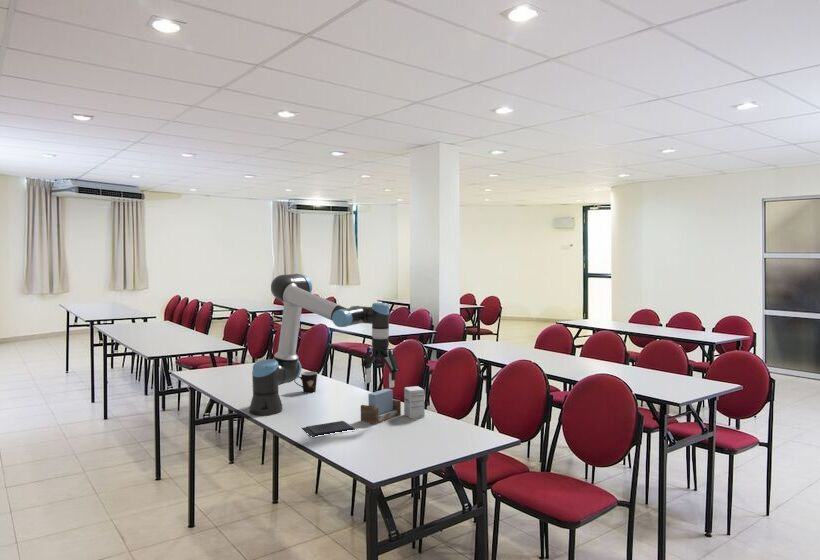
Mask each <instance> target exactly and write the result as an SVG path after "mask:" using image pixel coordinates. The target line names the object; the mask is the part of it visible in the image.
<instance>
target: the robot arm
mask: <svg viewBox="0 0 820 560" xmlns="http://www.w3.org/2000/svg"><path fill="white" fill-rule="evenodd" d="M270 291H271V295H272V296H274V298H276V300H278V301H281V302H282V303H283V310H282V318H281V326H280V332H279V333H280V334H279V340H278V349H277V352H275V353H274V355H273V358H271V359H270V358H269V359H262V360H259V361H255V363H253V365H252V372H251V374H252V397H251V401H250V405H249V407H248V409H249V410H248V411H249V414H251V415H254V416H270V415H275V414H279V413H281V412H282V411H283V403H282V400H281V398H280V395H279V386H280V385H284V384H288V383H292V382H293V381H294V380H295V381H296V380H297V379H298V378H299V377H300V375H301V373H302V364H301V362H300V360H299V355H298V354H297V346H298V340H299V338H298V337H299V333H300V332H299V331H300V323H301V316H302V309H305V310H307V311H309V312H312V313H314V314H316V315H318V316H319V317H323V318H326V319H327V320H329V321H331V322H332V323H333V324H334V326H336V327H338V328H347V327H350V326H354V325H358V324H370V325H371V337H372V338H371V346H368V347H366V353H365V355H364V358H363V360H362V363H361V367H363V368H364V369H365V370H364V371H365V372H364V375H365V383H366V384H369V383H372V367H371V366H372V365H373V363H374V362H375V361H376V359H380V360H382V361H383V362H384V363H385V364H386V366H387V368H388V370H389V375H388V385H389V386H388V389H391V388H395V380H396V379H397V378H396V376H397V374H396V373H397V372H400V368H399V364H398V361H397V358H396V356H395V350H394V349H389V346H390V345H389V343H390V339H389V337H390V334H389V333H390V328H389V327H390V307H389V304H388V303H387V302H373V303H371V304H372V305H371V306H362V305H361V306H360V305H351V306H350V307H349V308H347V307H346V306H342V305H340V304H337V303H335V302H333V301H331V300H328V299H326V298H324V297H321V296H320V295H317V294H314V293H312V292H313V284H312V282H311V280H310V278H309V277H308V276H306V275H305V274H301V273H292V274H291V273H290V274H280V275H277V276H276V277H275V278H274V279H273V280H272V282H271V284H270Z"/></svg>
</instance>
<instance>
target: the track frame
mask: <svg viewBox="0 0 820 560" xmlns="http://www.w3.org/2000/svg"><path fill="white" fill-rule="evenodd" d="M401 405H402V403H401V400H400V399H395V398H393V411H391V412H388V413H385V414H382V415H379V416H378V408H376V407H371V406H369V405H366V404H360V421H361V422H364V421H365V423H368V422H369V424H372V425H378V424H381V423H383V421H384V422H386V420H387V421H389V420H392V419H394V418H397V417H400V416H401V415H402V411H401V408H402V406H401Z"/></svg>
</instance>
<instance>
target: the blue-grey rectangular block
mask: <svg viewBox="0 0 820 560" xmlns="http://www.w3.org/2000/svg"><path fill="white" fill-rule="evenodd" d="M393 392H394V390H393V389H391V388H384V389H381V390H377V391H373V392H371V393H368V406H371V407H376V408H378V416H379V415H382V414H385V413H388V412H391V411H393V399H394V393H393Z"/></svg>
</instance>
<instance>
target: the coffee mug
mask: <svg viewBox="0 0 820 560" xmlns="http://www.w3.org/2000/svg"><path fill="white" fill-rule="evenodd" d="M300 375H301V376H299V377H298V378H299V379H300V380H301V383H302V384H299V383H297V382H296V379H295V380H293V381H294V383H295V384H296V385H297V386H298V387H301V388H302V391H303V393H304V394H313V392H314V393H316V392H315V391H317V390H316V389H317V381H318V372H316V371H305V372H304V371H303V372H301V373H300Z"/></svg>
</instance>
